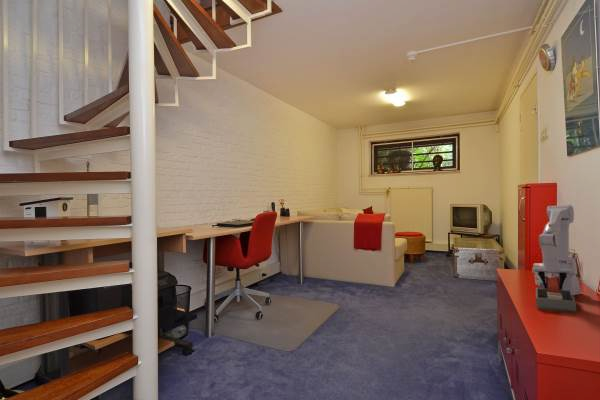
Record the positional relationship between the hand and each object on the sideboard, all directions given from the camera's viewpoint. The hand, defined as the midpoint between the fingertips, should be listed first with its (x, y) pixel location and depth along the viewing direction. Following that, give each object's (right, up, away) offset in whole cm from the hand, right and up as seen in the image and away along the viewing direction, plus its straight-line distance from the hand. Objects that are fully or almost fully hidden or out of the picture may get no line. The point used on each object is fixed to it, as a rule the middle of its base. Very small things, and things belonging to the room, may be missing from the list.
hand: (553, 288), depth 146 cm
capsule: (0, -2, 0) cm, 2 cm away
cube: (-4, -6, -6) cm, 10 cm away
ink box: (+16, -6, +26) cm, 30 cm away
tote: (-2, -7, -3) cm, 8 cm away
